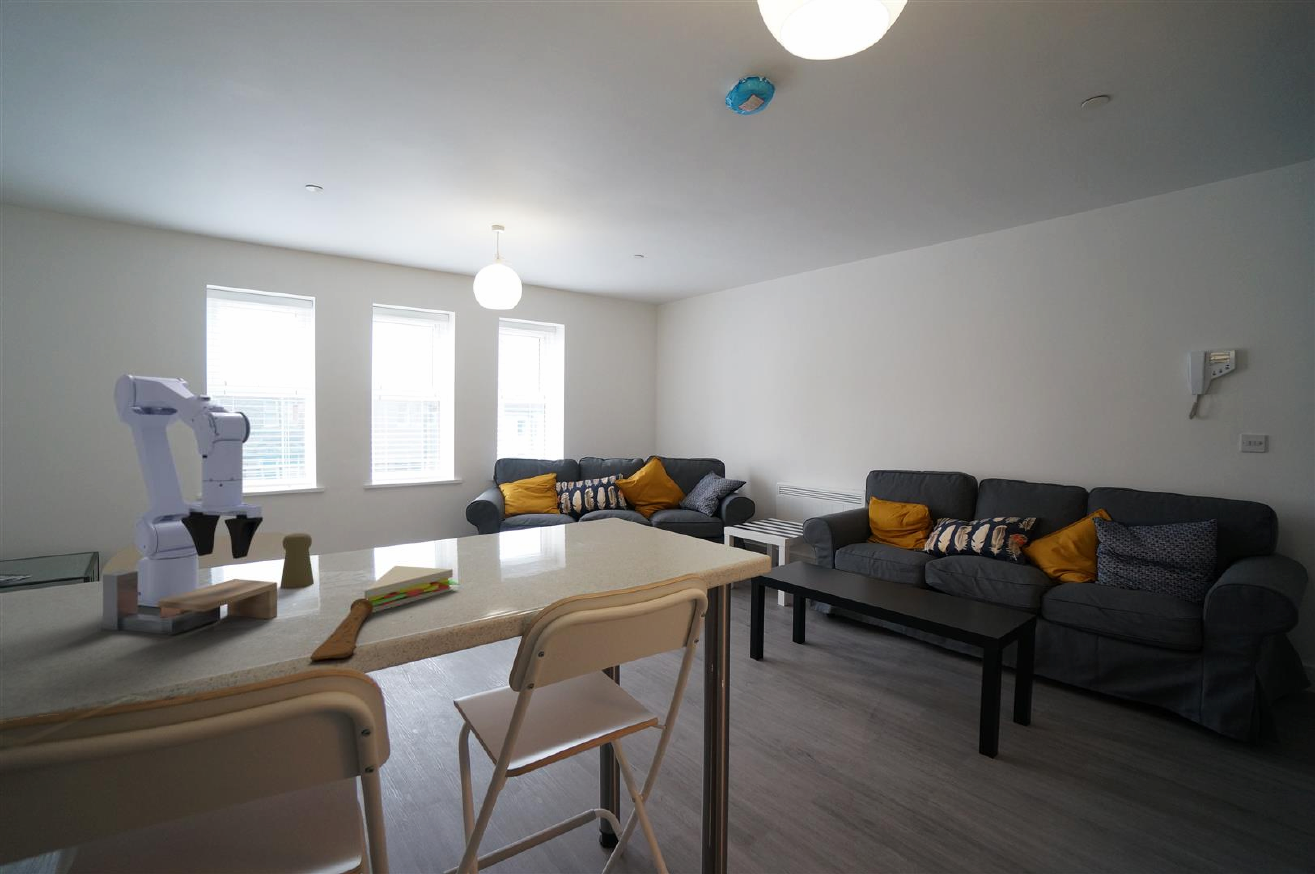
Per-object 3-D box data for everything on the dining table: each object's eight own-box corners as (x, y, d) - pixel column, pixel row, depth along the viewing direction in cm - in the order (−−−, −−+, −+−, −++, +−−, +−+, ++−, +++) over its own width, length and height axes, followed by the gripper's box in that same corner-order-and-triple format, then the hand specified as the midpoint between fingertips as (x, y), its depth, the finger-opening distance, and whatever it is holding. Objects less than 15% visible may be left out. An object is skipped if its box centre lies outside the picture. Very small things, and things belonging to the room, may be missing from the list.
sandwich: (322, 610, 104) (322, 583, 104) (408, 583, 122) (408, 560, 122) (381, 623, 98) (381, 594, 98) (462, 593, 116) (462, 569, 115)
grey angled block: (103, 629, 92) (102, 574, 92) (158, 612, 100) (158, 562, 100) (168, 636, 89) (168, 580, 89) (220, 618, 98) (220, 567, 97)
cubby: (157, 638, 88) (157, 600, 88) (235, 612, 101) (235, 578, 101) (203, 643, 87) (203, 605, 86) (277, 616, 99) (277, 582, 99)
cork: (290, 582, 121) (290, 531, 120) (319, 581, 121) (319, 531, 121) (273, 590, 115) (273, 536, 114) (304, 589, 115) (304, 536, 115)
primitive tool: (308, 657, 80) (311, 679, 81) (350, 652, 82) (352, 674, 82) (350, 597, 99) (352, 616, 100) (384, 594, 100) (386, 612, 101)
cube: (161, 626, 94) (161, 602, 94) (185, 618, 98) (185, 595, 98) (180, 628, 93) (180, 604, 93) (204, 620, 97) (204, 597, 97)
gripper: (165, 480, 97) (166, 558, 97) (235, 483, 94) (235, 564, 94) (206, 477, 104) (206, 550, 104) (272, 479, 101) (271, 554, 101)
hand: (222, 556), depth 100 cm, fingers open, 7 cm apart
